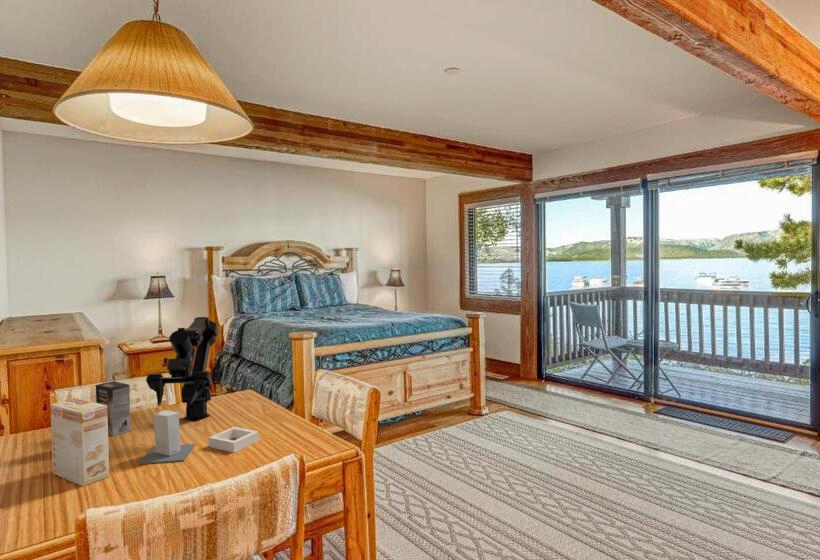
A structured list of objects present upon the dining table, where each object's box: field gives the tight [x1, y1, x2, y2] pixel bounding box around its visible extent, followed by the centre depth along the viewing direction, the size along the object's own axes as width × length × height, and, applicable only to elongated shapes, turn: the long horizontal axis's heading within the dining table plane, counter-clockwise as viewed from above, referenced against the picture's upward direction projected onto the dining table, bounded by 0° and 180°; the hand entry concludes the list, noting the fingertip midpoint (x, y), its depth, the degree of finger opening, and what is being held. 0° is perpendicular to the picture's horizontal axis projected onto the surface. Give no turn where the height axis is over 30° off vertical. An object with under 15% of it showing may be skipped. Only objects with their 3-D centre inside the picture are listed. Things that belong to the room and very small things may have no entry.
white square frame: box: [208, 426, 260, 454], centre depth 153 cm, size 10×10×3 cm
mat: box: [138, 443, 196, 465], centre depth 145 cm, size 12×12×1 cm
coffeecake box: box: [50, 398, 111, 487], centre depth 131 cm, size 15×7×20 cm, turn 61°
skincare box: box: [152, 409, 181, 456], centre depth 145 cm, size 6×4×12 cm
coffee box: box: [95, 380, 131, 437], centre depth 163 cm, size 9×6×16 cm
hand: (174, 404), depth 151 cm, fingers open, 9 cm apart
